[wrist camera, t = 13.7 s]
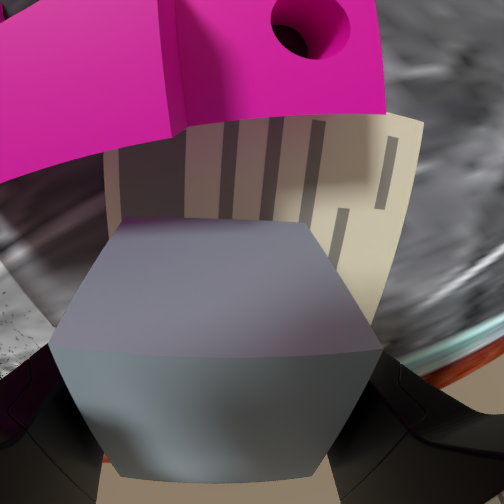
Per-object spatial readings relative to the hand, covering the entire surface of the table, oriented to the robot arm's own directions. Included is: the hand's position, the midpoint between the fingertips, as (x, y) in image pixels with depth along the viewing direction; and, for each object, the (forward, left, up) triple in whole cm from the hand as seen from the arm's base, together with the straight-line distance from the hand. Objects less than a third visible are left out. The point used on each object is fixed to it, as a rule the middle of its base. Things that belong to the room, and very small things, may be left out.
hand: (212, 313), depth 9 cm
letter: (-2, -1, -4) cm, 4 cm away
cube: (0, 0, -1) cm, 1 cm away
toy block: (+4, -4, -1) cm, 6 cm away
